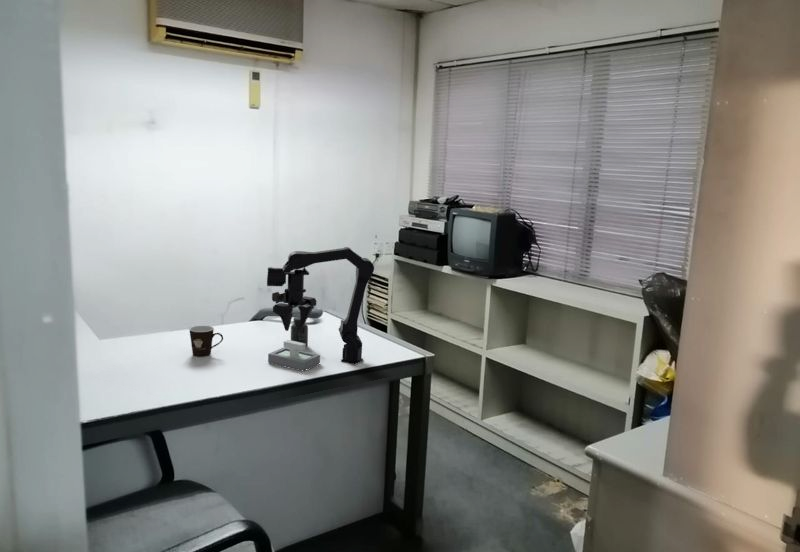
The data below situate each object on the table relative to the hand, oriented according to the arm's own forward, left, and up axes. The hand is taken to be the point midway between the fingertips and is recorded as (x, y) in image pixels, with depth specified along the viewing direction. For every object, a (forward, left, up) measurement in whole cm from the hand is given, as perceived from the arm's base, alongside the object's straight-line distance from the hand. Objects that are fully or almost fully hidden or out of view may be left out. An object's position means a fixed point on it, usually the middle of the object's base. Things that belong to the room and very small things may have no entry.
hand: (294, 327), depth 222 cm
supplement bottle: (+9, -16, -13) cm, 22 cm away
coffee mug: (+31, +13, -13) cm, 36 cm away
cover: (-1, +1, -11) cm, 11 cm away
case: (-1, +1, -13) cm, 13 cm away
